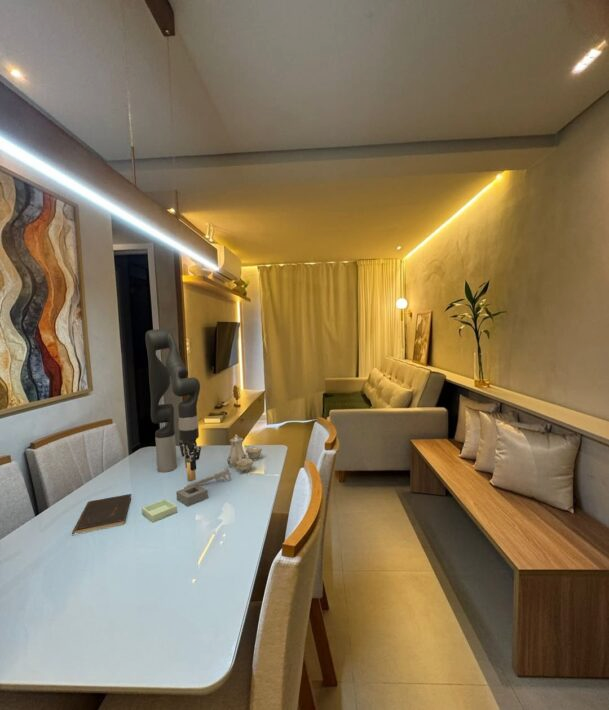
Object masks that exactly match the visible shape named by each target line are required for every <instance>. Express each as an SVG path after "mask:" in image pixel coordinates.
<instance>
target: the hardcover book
mask: <svg viewBox="0 0 609 710" xmlns="http://www.w3.org/2000/svg"><path fill="white" fill-rule="evenodd" d="M131 497H132V494H131V493H129V494H123V495H118V496H117V495H116V496H111V497H107V498H101V499H95V500H89V501H88V502H87V503H86V505H85V506H84V509H83V511H82V512H81V514H80V516H79V518H78V520H77V522H76V524H75V526H74V527H73V529H72V532H71V535H72V534H75V533H81V534H84V533H83V532H85V533H89V531H90V532H94V530H95V531H98V530H99V529H100V530H103V528H104V529H108V527H109V528H113V527H119V526H124V524H125V522H126V517H127V514H128V511H129V510H128V509H129V505H130V501H131Z"/></svg>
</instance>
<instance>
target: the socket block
mask: <svg viewBox="0 0 609 710" xmlns="http://www.w3.org/2000/svg"><path fill="white" fill-rule="evenodd" d="M175 492H176V500H177V501H178V502H179V503H180V504H183V505H184V506H185V507H190V506H193V505H195V504H198V503H200V502H202V501H205V500H208V499H209V490H208V489H207V488H205V487H203V486H201V485H197V484H196V485H193V486H190V487H187V488H185V489H184V488H182V489H180V490H177V491H175Z"/></svg>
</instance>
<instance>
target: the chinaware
mask: <svg viewBox="0 0 609 710" xmlns="http://www.w3.org/2000/svg"><path fill="white" fill-rule="evenodd" d="M243 440H244V439H243V438H242V437H240V436H238V434H235V435H234V437H232V438H231V439H230V440H229V441H230V444H231V448H230V452H229V455H227V456H228V457H227V459H226V462H227V464H228V465H229V468H231V469H236V472H237V473H240V474H241V473H243V474H245V473H246V472H247V473H248V472H249V470H250V469H251V468H252V465H253V463H254V461H255V460H252V459H256V458H257V459H258V458H260V455H261V454H262V451H263V448H262V447H255V446H253V447H252V448H247V449H246V451H244V448H243ZM245 452H246V453H247V455H246V453H245ZM238 470H239V471H238Z"/></svg>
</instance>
